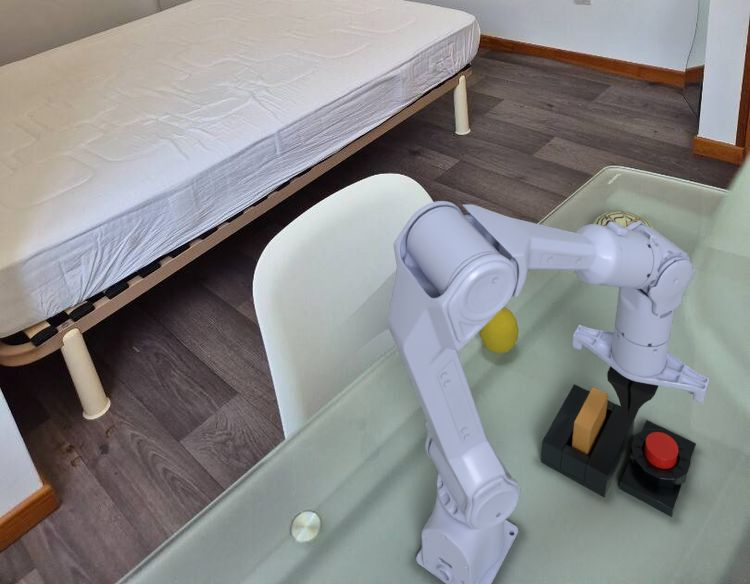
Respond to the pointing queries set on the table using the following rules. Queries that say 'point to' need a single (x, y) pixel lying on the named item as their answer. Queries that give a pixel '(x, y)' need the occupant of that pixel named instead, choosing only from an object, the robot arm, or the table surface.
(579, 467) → the toaster
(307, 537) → the table surface
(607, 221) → the decorated donut
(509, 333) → the lemon
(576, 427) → the toast
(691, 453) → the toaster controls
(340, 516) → the table surface
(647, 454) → the button
